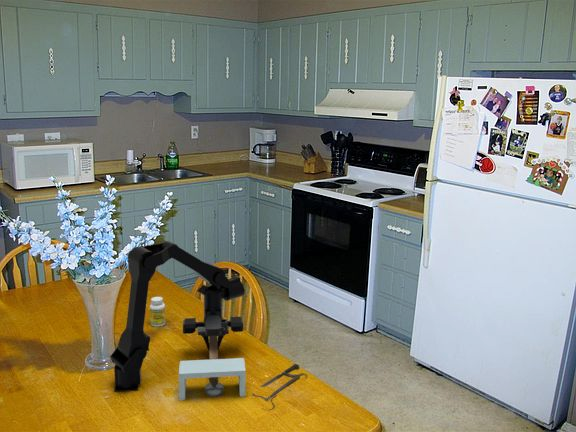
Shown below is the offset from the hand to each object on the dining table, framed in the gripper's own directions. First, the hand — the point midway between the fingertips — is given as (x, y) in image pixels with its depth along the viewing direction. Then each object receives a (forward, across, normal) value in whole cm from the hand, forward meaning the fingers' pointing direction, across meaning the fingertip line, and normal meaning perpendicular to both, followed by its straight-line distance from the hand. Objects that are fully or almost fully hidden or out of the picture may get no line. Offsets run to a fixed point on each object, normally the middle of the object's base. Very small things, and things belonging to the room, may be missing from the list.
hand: (213, 349), depth 174 cm
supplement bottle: (+2, -19, +24) cm, 31 cm away
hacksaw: (+2, +20, -21) cm, 29 cm away
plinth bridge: (+1, 0, -22) cm, 22 cm away
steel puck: (+2, 0, -22) cm, 22 cm away
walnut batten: (+1, 0, -7) cm, 7 cm away
